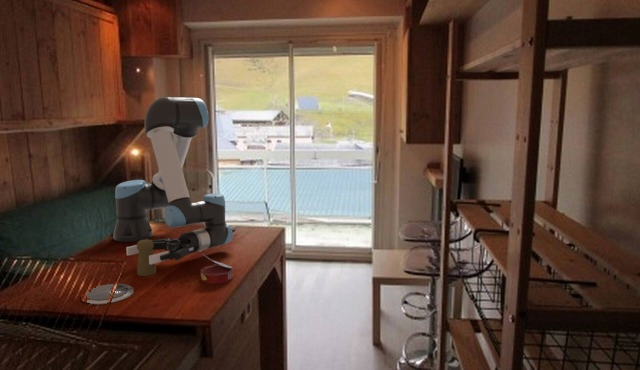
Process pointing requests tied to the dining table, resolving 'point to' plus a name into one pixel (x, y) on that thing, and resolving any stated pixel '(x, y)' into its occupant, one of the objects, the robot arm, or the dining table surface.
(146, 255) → the cork
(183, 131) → the robot arm
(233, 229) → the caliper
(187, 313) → the dining table surface
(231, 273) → the canned food
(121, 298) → the seat plate
